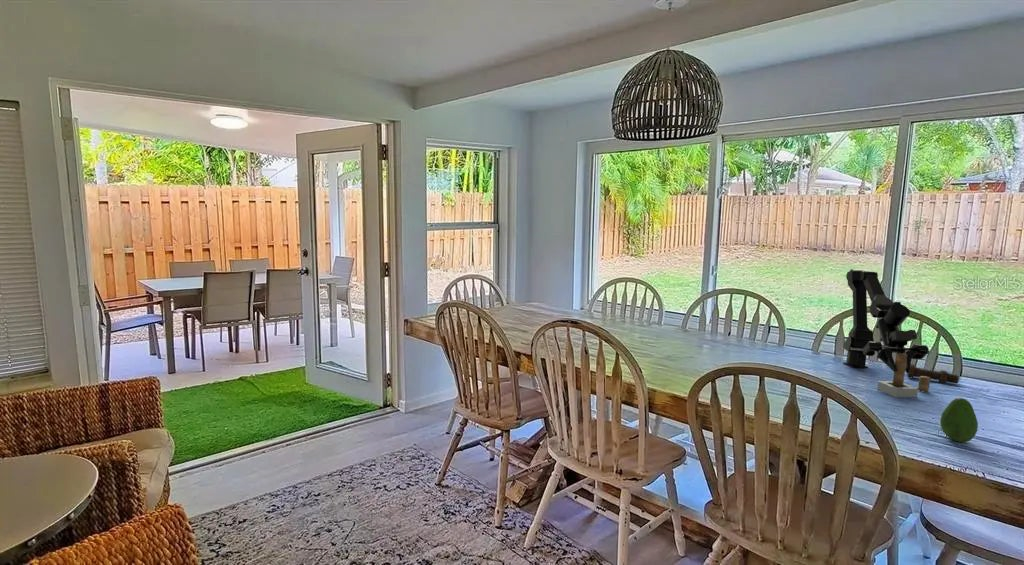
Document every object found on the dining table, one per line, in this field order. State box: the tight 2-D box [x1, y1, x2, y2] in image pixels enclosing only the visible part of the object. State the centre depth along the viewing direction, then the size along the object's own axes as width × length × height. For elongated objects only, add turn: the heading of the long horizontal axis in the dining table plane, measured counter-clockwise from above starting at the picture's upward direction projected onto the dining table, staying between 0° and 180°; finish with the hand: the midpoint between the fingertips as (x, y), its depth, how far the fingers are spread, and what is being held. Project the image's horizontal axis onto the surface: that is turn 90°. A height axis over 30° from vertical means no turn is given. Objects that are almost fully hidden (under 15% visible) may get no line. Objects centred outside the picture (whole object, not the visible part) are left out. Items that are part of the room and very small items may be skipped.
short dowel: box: [917, 376, 931, 393], centre depth 192 cm, size 3×3×5 cm
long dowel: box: [892, 353, 907, 387], centre depth 188 cm, size 3×3×14 cm
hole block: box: [876, 380, 919, 399], centre depth 189 cm, size 8×8×3 cm
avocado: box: [939, 397, 979, 443], centre depth 150 cm, size 8×8×12 cm
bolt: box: [906, 363, 960, 384], centre depth 204 cm, size 6×5×15 cm
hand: (901, 372), depth 186 cm, fingers open, 4 cm apart
